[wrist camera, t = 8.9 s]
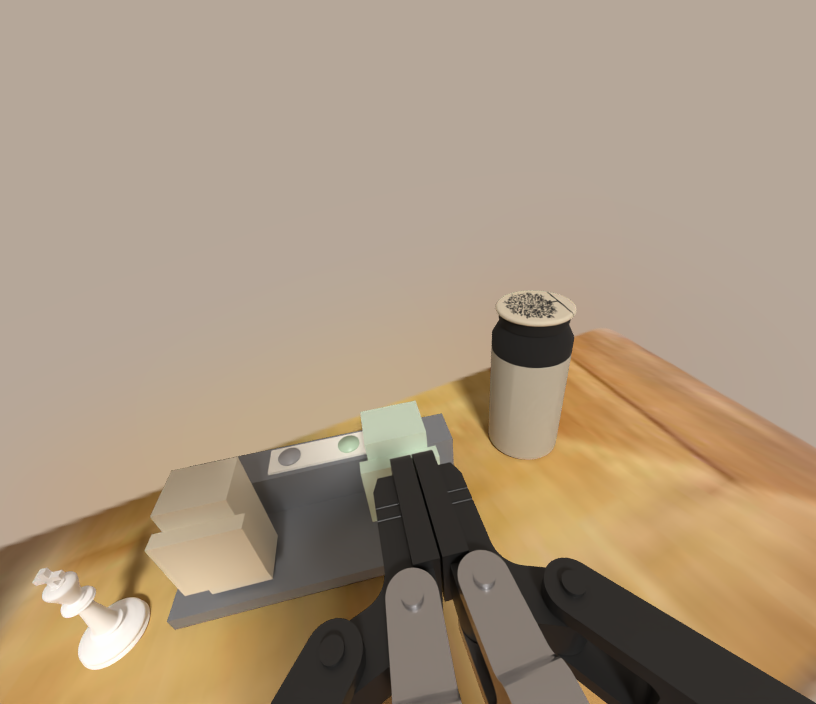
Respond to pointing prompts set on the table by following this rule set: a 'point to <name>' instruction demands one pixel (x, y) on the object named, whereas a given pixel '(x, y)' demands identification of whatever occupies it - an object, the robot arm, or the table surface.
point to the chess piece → (96, 618)
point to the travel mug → (529, 371)
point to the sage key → (390, 442)
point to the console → (309, 523)
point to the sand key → (212, 530)
